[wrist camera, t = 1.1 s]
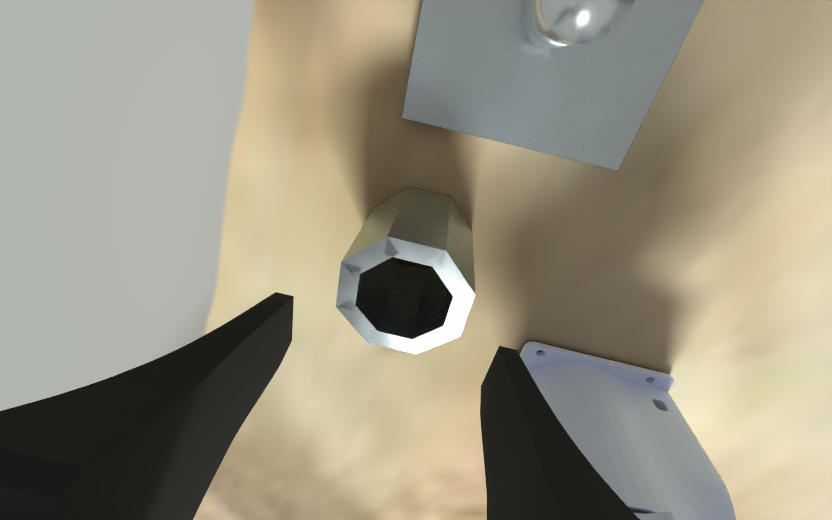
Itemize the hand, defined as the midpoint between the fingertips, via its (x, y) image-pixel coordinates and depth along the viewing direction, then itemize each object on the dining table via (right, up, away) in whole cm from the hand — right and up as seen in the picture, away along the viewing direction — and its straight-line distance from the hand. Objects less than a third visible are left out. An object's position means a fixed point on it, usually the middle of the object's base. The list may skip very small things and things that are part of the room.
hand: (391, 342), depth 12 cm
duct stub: (+6, +13, +2) cm, 14 cm away
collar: (+1, +4, +7) cm, 9 cm away
